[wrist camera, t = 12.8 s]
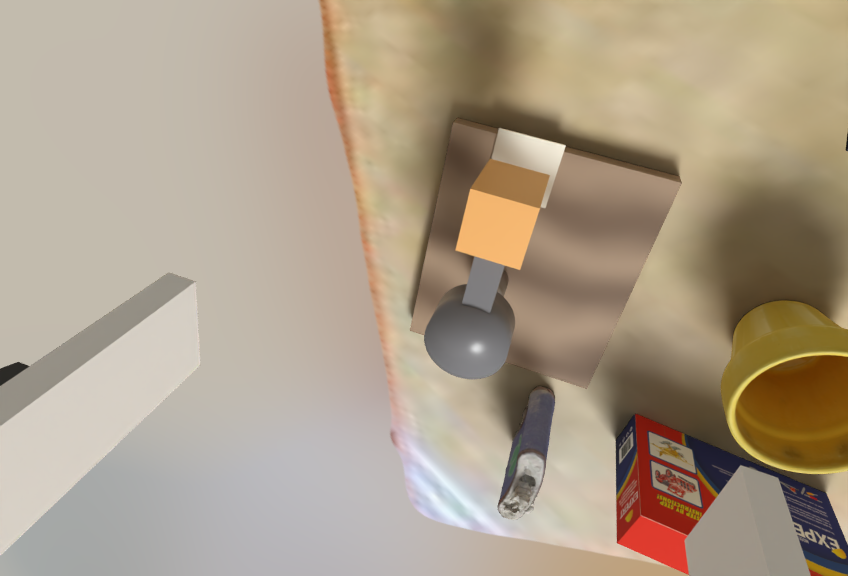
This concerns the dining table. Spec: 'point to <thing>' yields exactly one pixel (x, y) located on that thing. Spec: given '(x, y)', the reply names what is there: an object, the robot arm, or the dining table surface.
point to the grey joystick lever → (486, 272)
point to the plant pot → (789, 388)
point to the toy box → (703, 497)
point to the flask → (528, 456)
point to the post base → (552, 245)
